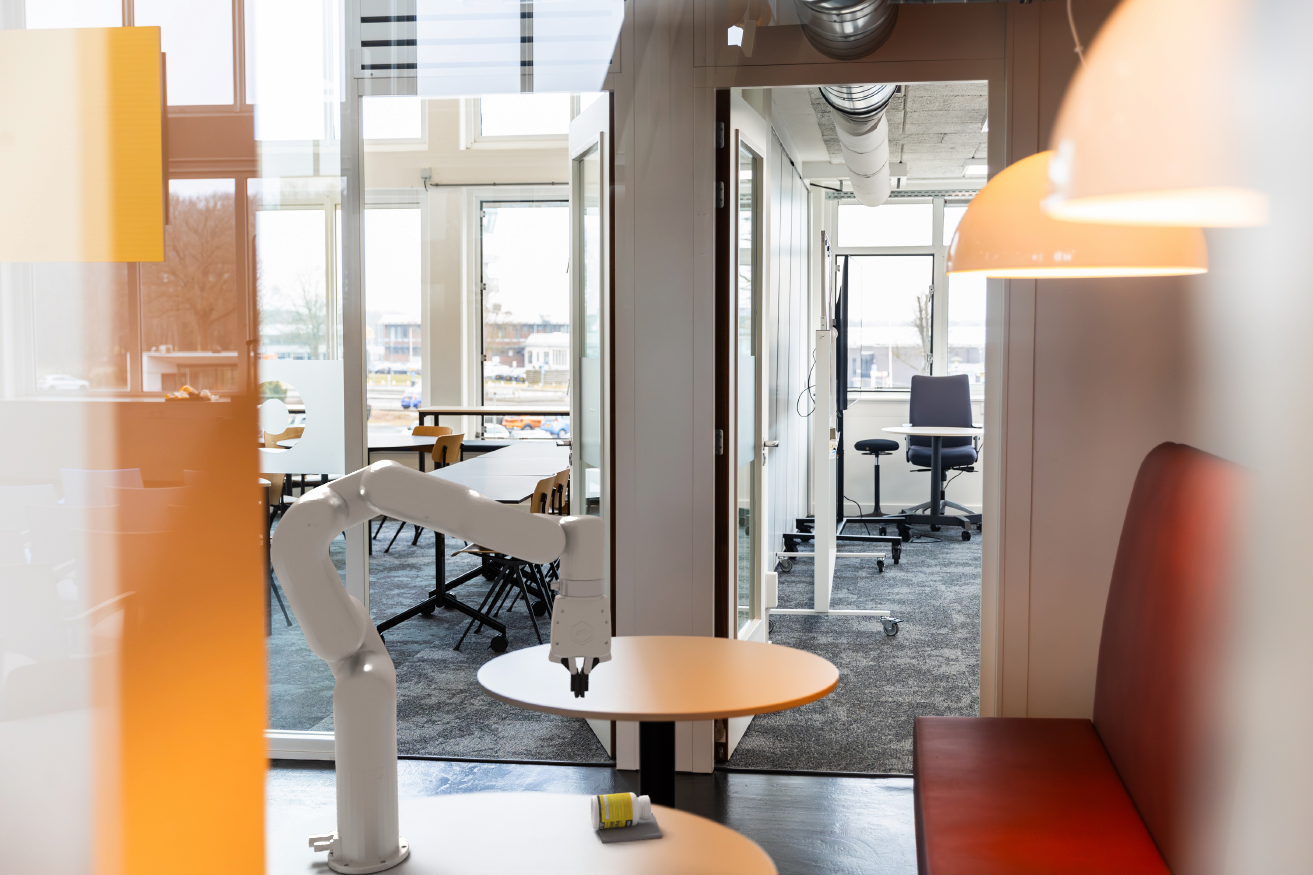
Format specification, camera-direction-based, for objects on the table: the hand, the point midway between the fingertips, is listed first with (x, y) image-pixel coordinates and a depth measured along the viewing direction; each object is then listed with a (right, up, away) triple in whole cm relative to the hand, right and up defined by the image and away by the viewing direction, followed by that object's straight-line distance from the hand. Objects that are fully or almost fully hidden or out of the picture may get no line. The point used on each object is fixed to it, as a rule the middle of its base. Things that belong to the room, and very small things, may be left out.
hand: (579, 695), depth 163 cm
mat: (+8, -23, +1) cm, 24 cm away
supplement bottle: (+2, -20, 0) cm, 20 cm away
